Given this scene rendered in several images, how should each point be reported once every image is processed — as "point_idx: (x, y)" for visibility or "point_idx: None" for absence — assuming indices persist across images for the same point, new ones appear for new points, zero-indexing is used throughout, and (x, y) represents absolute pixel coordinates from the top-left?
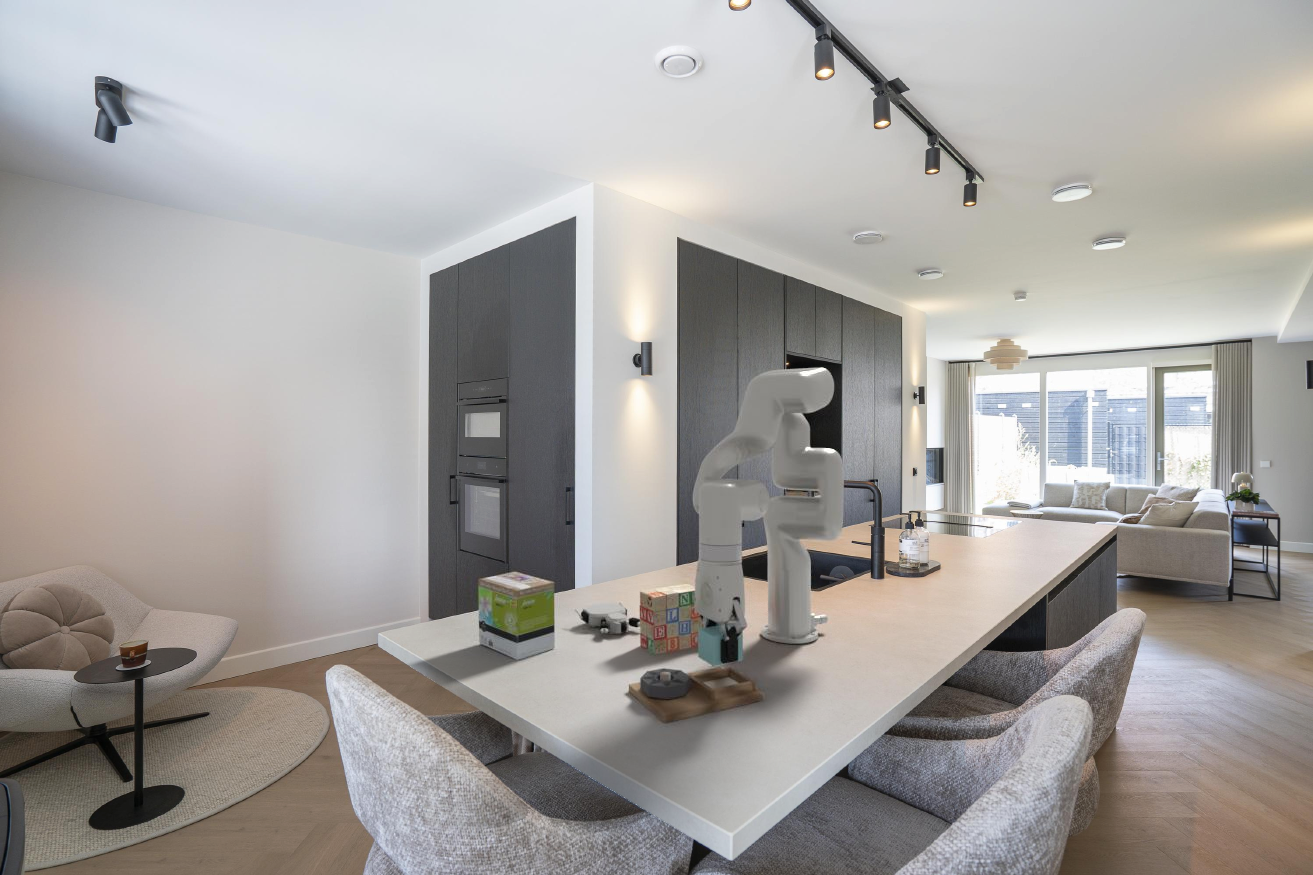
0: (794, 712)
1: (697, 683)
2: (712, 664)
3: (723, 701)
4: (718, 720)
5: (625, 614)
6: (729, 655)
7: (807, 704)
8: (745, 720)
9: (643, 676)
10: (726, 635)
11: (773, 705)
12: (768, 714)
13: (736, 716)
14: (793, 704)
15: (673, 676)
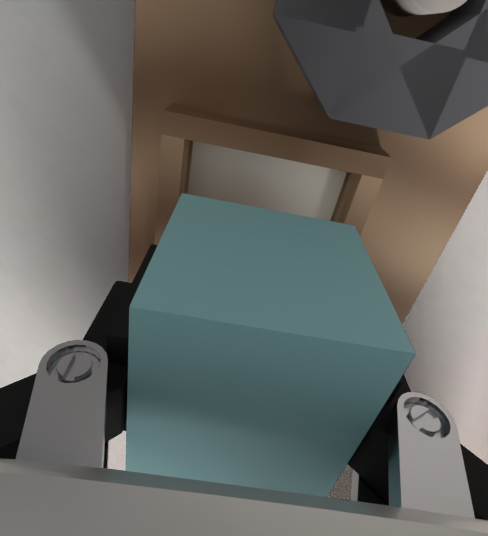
0: (19, 287)
1: (292, 135)
2: (189, 197)
3: (135, 139)
4: (60, 32)
5: None
6: (113, 292)
7: (52, 343)
8: (20, 127)
9: None
10: (36, 376)
11: (87, 278)
12: (35, 223)
13: (64, 124)
14: (68, 320)
15: (407, 37)
